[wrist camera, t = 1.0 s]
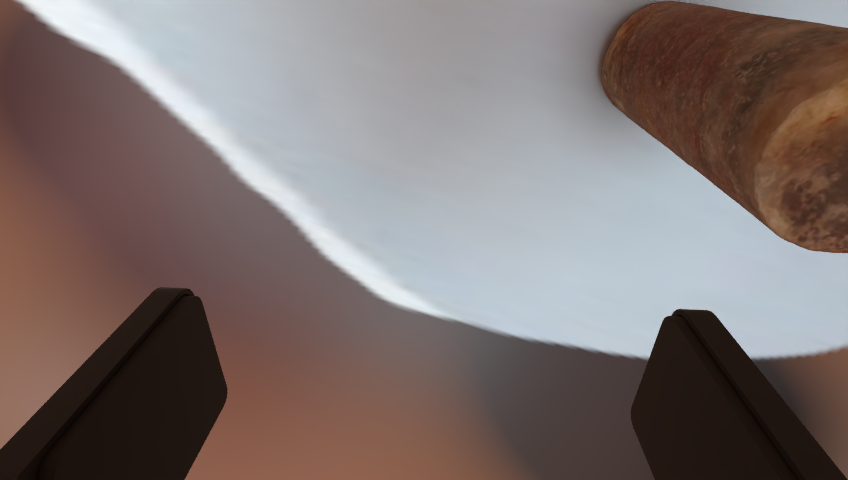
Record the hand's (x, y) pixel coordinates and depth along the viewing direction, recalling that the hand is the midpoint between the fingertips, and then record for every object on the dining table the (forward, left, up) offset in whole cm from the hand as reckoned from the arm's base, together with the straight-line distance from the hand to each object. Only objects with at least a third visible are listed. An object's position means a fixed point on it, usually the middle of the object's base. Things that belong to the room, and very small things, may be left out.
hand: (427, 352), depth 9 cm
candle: (-9, +12, -27) cm, 31 cm away
